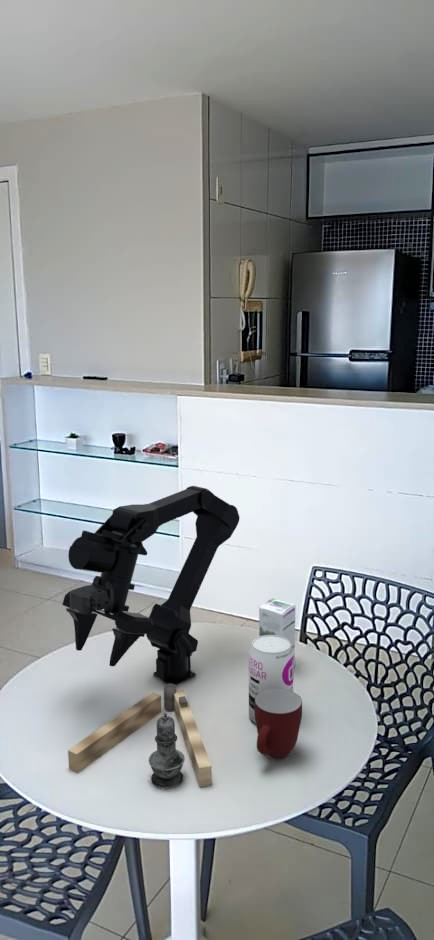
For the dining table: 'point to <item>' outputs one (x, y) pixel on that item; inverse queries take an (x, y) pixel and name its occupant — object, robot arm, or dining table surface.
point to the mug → (277, 721)
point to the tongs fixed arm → (189, 733)
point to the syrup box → (278, 620)
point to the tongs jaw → (113, 732)
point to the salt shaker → (166, 756)
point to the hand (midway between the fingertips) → (94, 658)
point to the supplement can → (269, 666)
